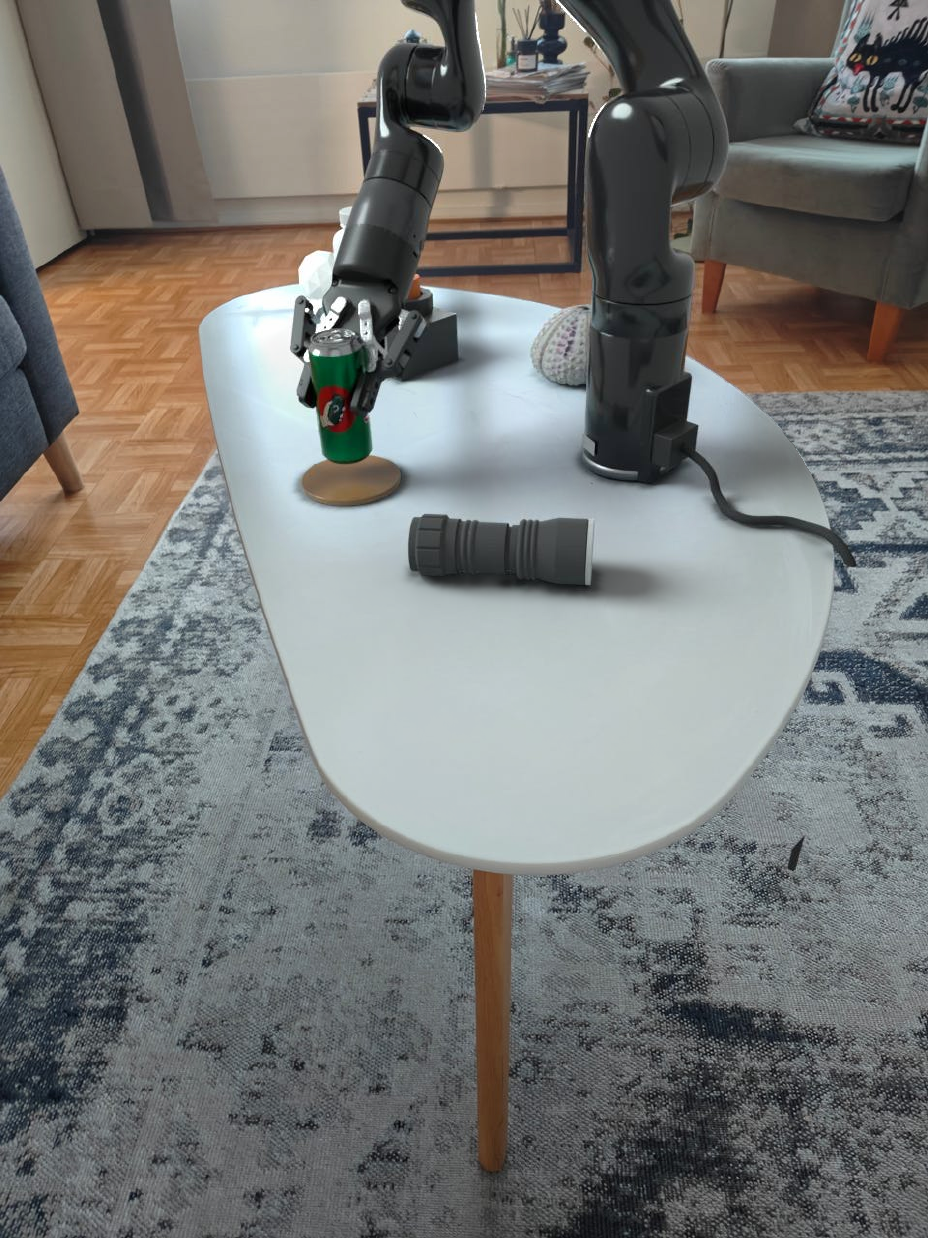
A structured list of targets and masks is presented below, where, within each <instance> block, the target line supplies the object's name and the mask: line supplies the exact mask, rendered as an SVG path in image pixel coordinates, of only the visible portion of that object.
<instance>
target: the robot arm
mask: <svg viewBox="0 0 928 1238" xmlns="http://www.w3.org/2000/svg"><path fill="white" fill-rule="evenodd" d="M555 1H556V3H558V4H559V5H560V6H561V8H563V10H564V11H565V12H566V13H567V14H568V15H569V16H570V18H572V19H573V21H575V22H576V23H577V25H579V27H580V28H581V29H582V30H583V31H584V32H585V33H586V34H587V35H588V36H589V38H590V39H591V40H592V41H593V42H594V43H595V44H596V46H597V47H598V48H599V50H601V52H602V54H603V56H604V57H605V59H606V60H607V62H608V64H609V65H610V68H611V70H612V71H613V73H614V75H615V78H616V80H617V81H618V84H619V87H620V89H621V91H622V94H620V95H617V96H615V97H612V98H611V99H610V100H608V101H607V102H606V103H605V104H604V105H603V106H602V107H601V108H600V110H599V111H598V113H597V114H596V116H595V118H594V119H593V122H592V123H591V127H590V129H589V133H588V137H587V143H586V149H585V155H584V157H585V158H584V188H583V189H584V251H585V255H586V260H587V263H588V266H589V269H590V273H591V292H590V304H591V310H590V328H589V347H588V367H587V385H586V387H585V388H586V389H585V407H584V408H585V409H584V428H583V429H584V430H583V432H584V433H582V436H581V437H582V439H581V441H582V442H581V447H582V451H581V461H582V463H583V465H584V466H585V467H586V468H587V469H588V470H590V471H591V472H593V473H595V474H596V475H598V476H601V477H605V478H609V479H613V480H620V481H638V482H641V483H643V484H649V483H651V482H654V480H656V479H658V478H660V477H661V476H662V475H665V474H667V473H668V472H669V471H671V470H673V469H675V468H676V467H678V466H680V465H682V464H683V461H685V460H686V459H688V458H689V459H690V460H691V461H693V462H694V464H696V465H697V466H698V467H699V468H700V469H701V470H702V471H703V473H704V474H705V476H706V477H707V479H708V482H709V486H710V492H711V494H712V497H713V499H714V500H715V502H716V504H717V506H718V508H719V509H720V511H721V513H722V514H723V515H724V516H725V517H727V518H728V519H731V520H733V521H735V522H737V523H741V524H743V525H750V526H786V527H790V528H794V529H798V530H801V531H805V532H808V533H811V534H814V535H816V536H819V537H821V538H823V539H825V540H826V541H827V542H829V544H831V546H833V548H834V549H835V550H836V551H837V553H838V555H839V556H840V558H841V560H842V562H843V564H844V565H845V566H847V567H849V568H857V567H858V564H857V561H856V559H855V557H854V555H853V553H852V551H851V550H850V548H849V547H848V545H847V543H846V542H845V541H844V540H843V538H841V537H840V536H839V535H838V534H837V533H836V532H835V531H833V530H831V528H828V527H826V526H824V525H822V524H818V523H814V522H811V521H809V520H808V521H807V520H804V519H801V518H798V517H793V516H788V515H751V514H746V513H743V512H741V511H738V510H736V509H734V508H733V507H731V505H730V504H729V503H728V501H727V499H726V498H725V495H724V494H723V492H722V489H721V485H720V479H719V476H718V474H717V472H716V470H715V468H714V467H713V466H712V465H711V463H709V461H708V460H707V459H706V457H704V456H703V455H702V454H700V453H699V452H698V451H696V448H697V442H698V434H699V426H700V425H699V424H698V423H695V422H691V421H688V415H689V408H690V407H689V406H690V401H691V400H690V399H691V392H692V391H691V390H692V383H693V375H692V373H690V372H688V371H685V368H686V367H685V366H686V357H687V349H688V341H689V332H690V331H689V330H690V323H691V314H692V306H693V296H694V289H695V281H696V269H697V268H696V263H695V260H694V258H693V257H692V256H691V255H690V254H689V252H686V251H683V250H682V249H678V248H675V247H673V246H672V244H671V221H672V220H671V219H672V217H671V216H672V208H674V207H677V206H680V205H681V206H682V205H685V204H687V203H691V202H694V201H696V200H699V199H702V198H703V197H705V196H707V195H708V194H709V193H711V192H712V191H713V190H714V189H715V188H716V187H717V185H718V184H719V182H720V181H721V180H722V177H723V175H724V173H725V170H726V168H727V163H728V159H729V152H730V139H729V137H730V136H729V129H728V123H727V119H726V116H725V113H724V110H723V107H722V105H721V101H720V100H719V98H718V95H717V93H716V91H715V88H714V86H713V85H712V83H711V80H710V79H709V77H708V74H707V72H706V71H705V69H704V66H703V64H702V63H701V61H700V59H699V57H698V54H697V52H696V50H695V48H694V47H693V45H692V42H691V40H690V38H689V36H688V35H687V33H686V32H687V31H686V30H685V28H684V26H683V24H682V22H681V19H680V18H679V15H678V13H677V10H676V9H675V5H674V4H673V2H672V1H673V0H555ZM400 2H401V4H402V5H403V6H404V7H405V8H406V9H407V10H409V11H411V12H414V13H416V14H420V15H422V16H425V17H427V18H430V19H431V20H433V21H434V22H435V23H436V24H437V25H438V27H439V29H440V32H441V35H442V37H443V41H444V46H441V45H433V44H424V43H415V42H400V43H397V44H394V45H393V46H391V47H390V48H389V50H387V51H386V53H384V55H383V57H382V59H381V60H380V62H379V65H378V67H377V68H378V69H377V72H376V73H377V74H376V110H375V111H376V112H375V113H376V114H375V125H374V137H373V146H372V151H371V155H370V158H369V161H368V164H367V166H366V170H365V173H364V177H363V180H362V183H361V187H360V189H359V191H358V194H357V196H356V198H355V199H354V202H353V204H352V206H353V207H352V209H351V212H350V216H349V219H348V222H347V225H346V229H345V231H344V235H343V238H342V241H341V244H340V247H339V251H338V254H337V257H336V260H335V263H334V267H333V271H332V284H331V287H330V288H329V290H328V291H327V292H326V293H325V294H324V296H323V298H322V299H315V300H310V299H309V298H307V297H305V295H304V294H303V295H302V294H301V295H298V296H297V297H296V298H295V300H294V309H293V317H292V326H291V335H290V345H289V350H290V352H291V353H292V354H293V355H294V356H295V357H296V358H298V360H299V361H300V362H302V363H303V367H302V371H301V374H300V378H299V381H298V384H297V387H296V396H297V397H298V402H299V403H300V404H301V405H302V406H304V407H305V408H308V409H313V410H314V409H316V407H315V400H314V392H313V385H312V378H311V371H310V363H309V356H308V348H309V346H310V344H311V341H310V338H311V336H312V335H313V334H315V333H317V332H320V331H323V330H328V329H348V330H352V331H354V332H356V333H357V335H358V338H357V339H358V340H359V341H360V342H361V345H362V346H363V351H364V368H365V373H364V372H361V373H360V376H359V379H358V382H357V385H356V389H355V392H354V395H353V398H352V402H351V405H350V410H351V412H352V413H354V414H355V415H356V416H357V417H361V418H365V417H366V416H367V413H369V414H371V412H372V411H373V410H374V409H375V405H376V401H377V398H378V395H379V391H380V388H381V385H382V383H383V382H384V381H385V380H387V379H392V378H391V377H395V378H396V379H400V378H402V377H403V376H404V375H405V373H406V371H407V369H408V367H409V365H410V363H411V361H412V360H413V358H414V356H415V354H416V352H417V350H418V348H419V347H420V345H421V343H422V341H423V339H424V337H425V335H426V333H427V332H428V330H429V325H428V324H427V322H426V321H425V319H424V318H423V317H422V315H421V314H420V313H419V312H418V311H417V310H412V311H410V312H409V311H407V310H405V308H404V302H405V301H406V300H407V298H408V296H409V292H410V289H411V286H412V282H413V279H414V276H415V274H417V273H416V272H417V270H418V266H419V262H420V260H421V256H422V253H423V251H424V250H425V249H424V248H425V243H426V239H427V235H428V230H429V224H430V218H431V215H432V212H433V211H432V210H433V208H434V204H435V201H436V197H437V194H438V192H439V187H440V186H441V185H440V184H441V181H442V178H443V174H444V168H445V160H444V159H445V158H444V154H443V153H442V151H441V149H440V147H439V146H438V144H436V143H435V142H434V141H433V140H432V139H430V138H429V137H427V136H426V135H425V134H422V133H420V132H418V131H417V130H414V129H412V128H411V127H413V128H421V129H429V130H438V131H443V132H452V133H464V132H467V131H469V130H470V129H472V128H473V127H474V126H475V124H477V122H478V120H479V118H480V117H481V115H482V112H483V110H484V106H485V103H486V95H487V94H486V91H487V89H486V87H487V86H486V75H485V69H484V68H485V67H484V64H483V63H484V62H483V57H482V50H481V44H480V38H479V31H478V22H477V12H476V11H477V10H476V1H475V0H400ZM323 314H324V316H325V318H324V319H323V321H321V317H322V315H323ZM317 325H319V327H318V328H317ZM398 325H399V332H398V334H397V336H396V338H395V340H394V341H393V343H392V345H391V347H390V349H389V351H388V353H387V335H388V334H389V333H390V332H392V331H393V330H394V329H395V328H396V327H397V326H398ZM805 838H806V834H803V836H802V837H801V838H800V840H798V842H797V843H796V844H795V845H794V846H793V848H792V849H791V851H790V854H789V858H788V862H787V866H786V868H787V867H788V869H789V870H792V871H794V870H795V869H796V870H797V866H798V862H799V858H800V854H801V851H802V848H803V844H804V840H805ZM796 870H795V871H796Z"/></svg>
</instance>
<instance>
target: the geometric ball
mask: <svg viewBox="0 0 928 1238" xmlns="http://www.w3.org/2000/svg"><path fill="white" fill-rule="evenodd" d="M334 263H335V261H334V252H333V251H325V250H318V249H317V250H316V251H313V252H312V253H309V254H308V255H306V256H305V257H304V259H303V261H302V262H301V264H300V265H299V267H298V284H299V286H300V288H301V290H302V292H303V296H305V297H306V298H307V299H308V300H315V299H322V298H323V296H324V294H325V293H326V292H327V291H328V290H329V288H330V287H331V284H332V271H333V267H334Z"/></svg>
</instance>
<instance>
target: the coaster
mask: <svg viewBox="0 0 928 1238" xmlns="http://www.w3.org/2000/svg"><path fill="white" fill-rule="evenodd" d="M300 481H301V483H300V484H301V489H302V492H303V494H305V496H307V498H309V499H311V500H313V501H315V502H316V503H319V504H324V505H329V506H337V507H338V506H339V507H348V506H349V507H350V506H359V505H360V506H361V505H366V504H370V503H373V502H376V501H379V500H381V499H383V498H385V497H388V496H389V495H391V494H393V493H394V492H395V491H396V490H397V489H398V487H399V486H400V485H401V481H402V473H401V470H400V468H399V467H398V465H397V464H396V463H395V462H393V461H391V460H390V459H387V458H385V457H381V456H378V455H371V454H370V455H369V456H368V457H367V458H366V459H364V460H363V461H360V462H357V463H353V464H336V463H333V462H331V461H329V460H328V459H327V458H326V459H324V460H322V461H319V462H318V463H315V464H313V465H312V466H311V467H309V468H308V469H307V470H306V471H305V472H304V473H303V475H302V477H301V480H300Z"/></svg>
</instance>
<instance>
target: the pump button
mask: <svg viewBox="0 0 928 1238" xmlns="http://www.w3.org/2000/svg"><path fill="white" fill-rule="evenodd" d="M420 287H421V277H420V275H419V274H417V273H415V276H414V279H413V282H412V286H411V289H410V292H409V296H408V298H407V299H415V298H418V297H421V292H420Z"/></svg>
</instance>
